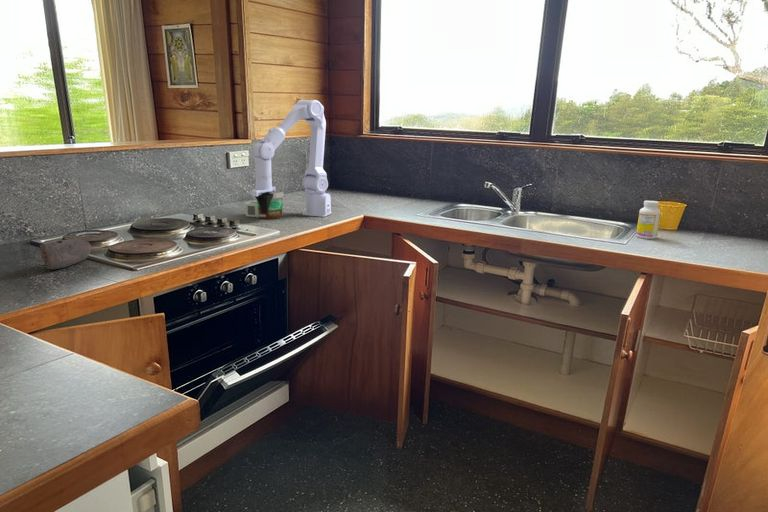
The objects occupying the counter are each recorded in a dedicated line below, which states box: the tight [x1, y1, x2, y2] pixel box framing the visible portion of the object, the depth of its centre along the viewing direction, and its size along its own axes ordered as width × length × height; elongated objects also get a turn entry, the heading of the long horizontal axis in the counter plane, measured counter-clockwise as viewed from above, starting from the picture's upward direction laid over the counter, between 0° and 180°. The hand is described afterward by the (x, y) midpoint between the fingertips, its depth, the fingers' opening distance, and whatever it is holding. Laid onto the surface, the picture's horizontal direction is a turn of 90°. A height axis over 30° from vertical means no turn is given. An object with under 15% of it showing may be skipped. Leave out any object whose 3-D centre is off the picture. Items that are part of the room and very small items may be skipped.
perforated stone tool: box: [39, 238, 92, 271], centre depth 135 cm, size 15×5×7 cm, turn 163°
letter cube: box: [244, 201, 259, 218], centre depth 205 cm, size 5×5×5 cm
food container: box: [254, 189, 285, 220], centre depth 200 cm, size 12×6×10 cm, turn 140°
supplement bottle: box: [635, 200, 661, 240], centre depth 184 cm, size 7×7×13 cm
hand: (264, 213), depth 195 cm, fingers closed
